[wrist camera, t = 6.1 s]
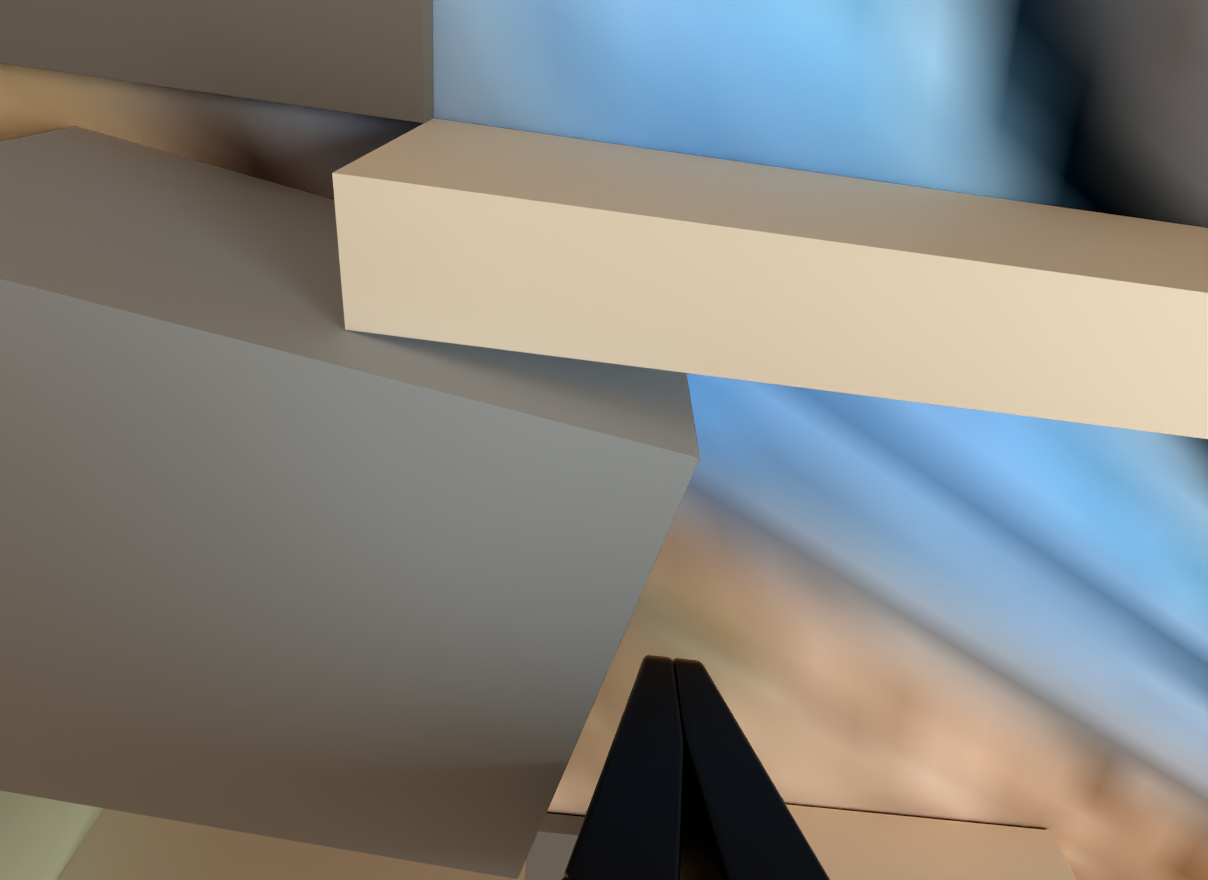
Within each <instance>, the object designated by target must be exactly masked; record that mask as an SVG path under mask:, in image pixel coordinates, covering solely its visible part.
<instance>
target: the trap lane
mask: <svg viewBox="0 0 1208 880" xmlns="http://www.w3.org/2000/svg"><path fill="white" fill-rule="evenodd" d="M332 177H333V189H334V201H335V213H336V225H337V237H338V249H339V262H340V274H341V286H342V298H343V310H344V322H345V330H352V331H360V332H368V333H376V334H383V335H391V336H399V337H407V338H415V339H423V340H431V341H439V342H447V343H454V344H462V345H470V346H478V347H486V348H494V349H502V350H510V351H518V352H525V353H533V354H541V355H549V356H557V357H565V358H573V359H581V360H589V361H596V362H604V363H612V364H620V365H628V366H636V367H644V368H652V369H660V370H668V371H675V372H683V373H691V374H699V375H707V376H715V377H723V378H731V379H739V380H746V381H754V382H762V383H770V384H778V385H786V386H794V387H802V388H810V389H817V390H825V391H833V392H841V393H849V394H857V395H865V396H873V397H881V398H888V399H896V400H904V401H912V402H920V403H928V404H936V405H944V406H952V407H959V408H967V409H975V410H983V411H991V412H999V413H1007V414H1015V415H1023V416H1030V417H1038V418H1046V419H1054V420H1062V421H1070V422H1078V423H1086V424H1094V425H1101V426H1109V427H1117V428H1125V429H1133V430H1141V431H1149V432H1157V433H1165V434H1172V435H1180V436H1188V437H1196V438H1204V439H1208V228H1204V227H1197V226H1190V225H1183V224H1176V223H1169V222H1162V221H1155V220H1148V219H1141V218H1134V217H1127V216H1120V215H1113V214H1106V213H1099V212H1092V211H1084V210H1077V209H1070V208H1063V207H1056V206H1049V205H1042V204H1035V203H1028V202H1021V201H1014V200H1007V199H1000V198H993V197H986V196H979V195H972V194H964V193H957V192H950V191H943V190H936V189H929V188H922V187H915V186H908V185H901V184H894V183H887V182H880V181H873V180H866V179H859V178H852V177H844V176H837V175H830V174H823V173H816V172H809V171H802V170H795V169H788V168H781V167H774V166H767V165H760V164H753V163H746V162H739V161H732V160H725V159H717V158H710V157H703V156H696V155H689V154H682V153H675V152H668V151H661V150H654V149H647V148H640V147H633V146H626V145H619V144H612V143H605V142H597V141H590V140H583V139H576V138H569V137H562V136H555V135H548V134H541V133H534V132H527V131H520V130H513V129H506V128H499V127H492V126H485V125H477V124H470V123H463V122H456V121H449V120H442V119H435V118H433V119H431V120H429V121H428V122H426V123H424V124H422V125H420V126H418V127H416V128H415V129H413V130H411V131H409V132H407V133H405V134H403V135H402V136H400V137H398V138H396V139H394V140H392V141H390V142H389V143H387V144H385V145H383V146H381V147H379V148H377V149H376V150H374V151H372V152H370V153H368V154H366V155H364V156H363V157H361V158H359V159H357V160H355V161H353V162H351V163H350V164H348V165H346V166H344V167H342V168H340V169H338V170H336V171H335V172H333V173H332ZM786 806H787V807H788V809H789V811H790V813H791V814H792V816H793V818H794V819H795V821H796V823H797V824H798V826H799V828H800V829H801V831H802V833H803V835H804V836H805V838H806V840H807V841H808V843H809V845H810V846H811V848H812V850H813V851H814V853H815V855H816V856H817V858H818V860H819V862H820V863H821V865H822V867H823V868H824V870H825V872H826V873H827V875H828V877H829V878H830V880H1076V878H1075V876H1074V874H1073V872H1072V870H1071V868H1070V866H1069V865H1068V863H1067V861H1066V859H1065V857H1064V855H1063V853H1062V851H1061V849H1060V847H1059V845H1058V844H1057V842H1056V840H1055V838H1054V836H1053V834H1052V832H1051V830H1042V829H1032V828H1021V827H1011V826H1001V825H991V824H981V823H970V822H960V821H950V820H940V819H930V818H919V817H909V816H899V815H889V814H878V813H868V812H858V811H848V810H838V809H827V808H817V807H807V806H797V805H787V804H786ZM525 868H526V861H525V863H524V865H523V868H522V870H521V872H520V875H519V877H518V879H513V878H507V877H501V876H495V875H490V874H484V873H478V872H472V871H466V870H460V869H455V868H449V867H443V866H437V865H431V864H425V863H420V862H414V861H408V860H402V859H396V858H390V857H385V856H379V855H373V854H367V853H361V852H356V851H350V850H344V849H338V848H332V847H326V846H321V845H315V844H309V843H303V842H297V841H291V840H286V839H280V838H274V837H268V836H262V835H256V834H251V833H245V832H239V831H233V830H227V829H221V828H216V827H210V826H204V825H198V824H192V823H186V822H181V821H175V820H169V819H163V818H157V817H151V816H146V815H140V814H134V813H128V812H122V811H116V810H111V809H105V808H104V809H103V810H102V812H101V813H100V815H99V816H98V818H97V819H96V821H95V823H94V824H93V826H92V827H91V829H90V830H89V832H88V833H87V835H86V836H85V838H84V839H83V841H82V842H81V844H80V845H79V847H78V848H77V850H76V851H75V853H74V855H73V856H72V858H71V859H70V861H69V862H68V864H67V865H66V867H65V868H64V870H63V871H62V873H61V874H60V876H59V877H58V879H57V880H524V876H525Z"/></svg>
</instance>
